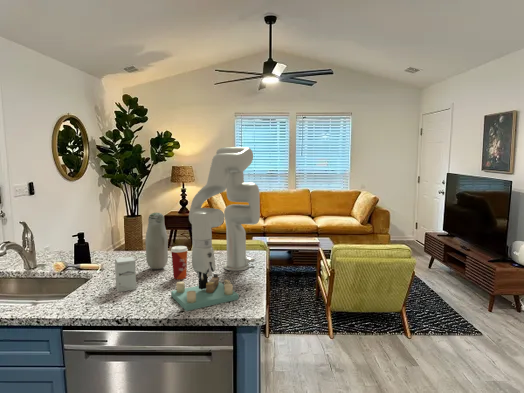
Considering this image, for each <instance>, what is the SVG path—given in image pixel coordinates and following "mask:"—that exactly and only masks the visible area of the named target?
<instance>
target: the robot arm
mask: <svg viewBox="0 0 524 393" xmlns="http://www.w3.org/2000/svg"><path fill="white" fill-rule="evenodd" d="M253 160H254V153H253V151H252V149H251V148H250V147H248V146H236V147H235V146H226V147H219V148H218V149H217V150H216V153H215V155H214V156H213V158H212V160H211V165H210V168H209V173H208V177H207V181H206V184H204V186H203V187H202V188H200V189H199V191H197V193H196V194H195V195H194V196H193V198H192V200H191V205H190V208H189V213H188V221H189V223H190V224H191V233H192V234H191V235H192V236H191V238H192V240H191V241H192V244H191V245H192V249H191V268H192V269H193V271H194V272H196V275H197V278H198V286H199V289H205V288H206V283H207V282H209V281H208V279H209V278H210V277H213V272H215V271H216V260H215V251H214V247H213V237H212V236H213V235H212V228H217V227H220V226H222V225H223V223H224V222H225V227H226V234H225V235H226V263H225V264H223V269H224V270H227V271H232V272H241V271H245V270H248V269H249V268H250V263H254V262H255V260H256V259H255V257H247V242H246V241H247V238H246V236H247V232H246V230H245V228H244V226H243V225H251V226H252V225H257V224H258V223H259V221H260V218H261V211H260V210H261V207H260V206H261V203H260V202H261V200H260V199H261V198H260V189H259V186H258V184H256V183H254V182H245V180H244V171H245V170H246V169H248V167H250V166H251V164H252V163H253ZM225 191H226V198H227V200H228V201H229V202H234V203H237V204H234V203H233V204H229V205H227V206H225V209H224V210H223V211H222V209H221V208H212V207H211V208H210V207H202V206H203V204H204V203H205V202H206V201H208V199H210V198H212V197H214V196H216V195H219V194H221V193H223V192H225ZM239 203H247V204H239Z"/></svg>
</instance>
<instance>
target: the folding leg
mask: <svg viewBox="0 0 524 393" xmlns="http://www.w3.org/2000/svg"><path fill="white" fill-rule="evenodd" d="M219 278H220V277H219V274H218V273H213V274H212V276H211V279H209V281H208V282H207V283H206V293H213V291H214V290H215V289H216V287H217V286H218V284H219V282H220V281H219Z"/></svg>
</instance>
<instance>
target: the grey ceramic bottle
mask: <svg viewBox="0 0 524 393" xmlns="http://www.w3.org/2000/svg"><path fill="white" fill-rule="evenodd" d="M147 220H148V221H147V222H148V224H147V230H146V232H145V233H146V234H145V239H144V240H145V242H144V243H145V258H146V263H147V265H148V267H149V268H150V269H152V270H162V269H164V268H165V267H166V266H167V264H168V259H169V252H168V251H169V249H168V247H169V245H168V244H169V243H168V242H169V241H168V240H169V239H168V238H169V237H168V233H167V229H166V225H165V216H164V214H163V213H161V212H153V213H150V214H149V215H148V218H147Z"/></svg>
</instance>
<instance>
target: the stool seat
mask: <svg viewBox="0 0 524 393" xmlns="http://www.w3.org/2000/svg"><path fill="white" fill-rule="evenodd" d="M223 281H224V283H222V281H219V284H218V286H217V287H216V289H215V290H214V291H213V293H206V288H205V289H199V285H196V286H192V287H190V286H189V287H185V285H186V283H185V282H184V281H177V282H176V284H175V286H176V289H175V290H171V291H170V294H171V297H172V298H173V299H174V300H175V301H176V302H177V303H178V305H180V307H182V309H183V310H184V311H186V312H189V311H192V310H196V309H200V308H201V309H202V308H205V307H209V306H214V305H220V304H223V303H228V302H232V301H237V300H239V293H237V292H236V291H234V290H233V289H234V287H233V283H231V281H230V280H229V279H223Z"/></svg>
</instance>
